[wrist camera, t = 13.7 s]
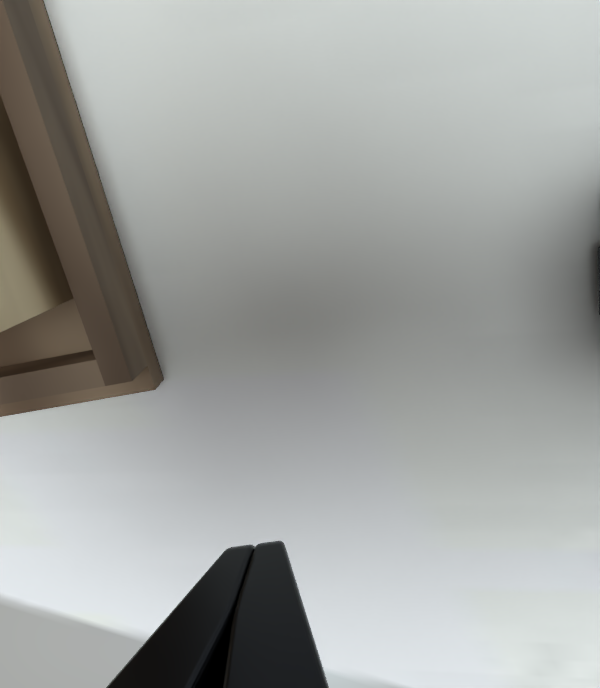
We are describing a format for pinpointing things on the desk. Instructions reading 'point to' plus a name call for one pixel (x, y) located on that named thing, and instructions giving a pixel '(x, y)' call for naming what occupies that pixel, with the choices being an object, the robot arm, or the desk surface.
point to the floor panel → (66, 241)
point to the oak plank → (24, 241)
